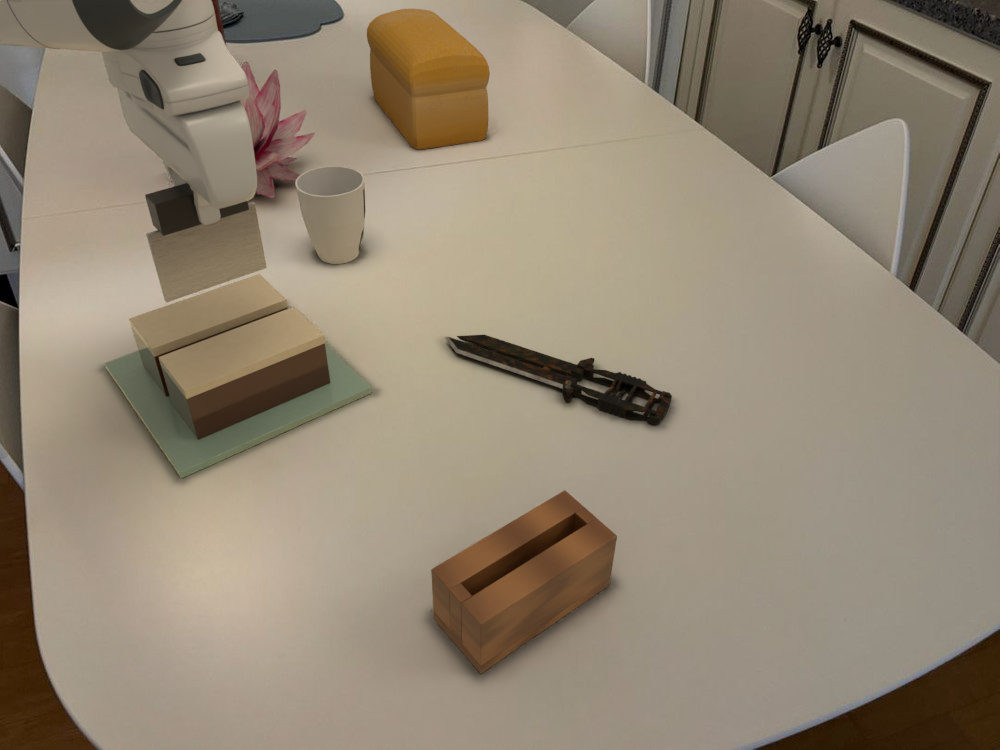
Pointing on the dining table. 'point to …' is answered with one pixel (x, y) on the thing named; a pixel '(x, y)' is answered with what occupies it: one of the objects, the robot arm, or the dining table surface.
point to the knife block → (522, 579)
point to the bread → (428, 79)
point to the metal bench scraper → (201, 243)
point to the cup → (333, 211)
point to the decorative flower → (272, 132)
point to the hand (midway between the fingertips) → (199, 212)
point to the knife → (568, 377)
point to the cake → (229, 373)
